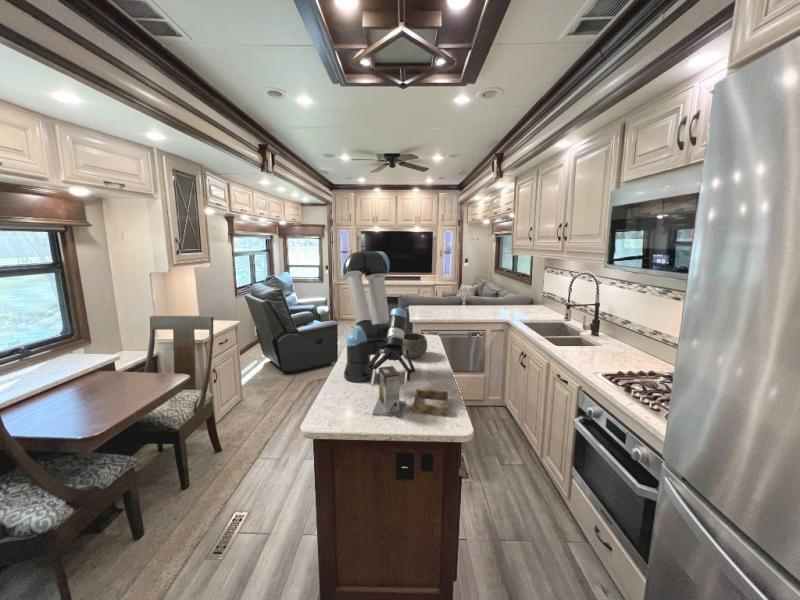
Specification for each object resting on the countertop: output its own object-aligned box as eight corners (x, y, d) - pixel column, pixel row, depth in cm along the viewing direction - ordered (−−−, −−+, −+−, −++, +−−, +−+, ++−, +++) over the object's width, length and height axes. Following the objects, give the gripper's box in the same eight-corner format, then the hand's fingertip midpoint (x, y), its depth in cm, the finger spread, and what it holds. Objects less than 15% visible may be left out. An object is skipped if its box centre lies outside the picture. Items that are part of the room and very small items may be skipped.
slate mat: (372, 414, 130) (372, 413, 129) (378, 400, 141) (378, 398, 141) (401, 417, 128) (401, 415, 128) (405, 402, 140) (405, 401, 139)
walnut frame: (412, 412, 131) (413, 404, 131) (416, 396, 145) (416, 389, 144) (447, 415, 129) (447, 407, 129) (447, 398, 143) (447, 391, 142)
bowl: (425, 363, 183) (426, 341, 181) (394, 361, 186) (394, 340, 184) (428, 352, 201) (428, 332, 198) (399, 350, 203) (399, 331, 201)
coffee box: (378, 402, 138) (378, 367, 135) (392, 400, 140) (392, 365, 137) (384, 413, 129) (384, 376, 126) (399, 410, 132) (400, 373, 128)
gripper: (366, 334, 142) (357, 381, 131) (422, 337, 139) (418, 386, 127) (369, 342, 149) (360, 387, 137) (423, 345, 145) (419, 392, 133)
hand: (388, 386), depth 132 cm, fingers open, 13 cm apart
